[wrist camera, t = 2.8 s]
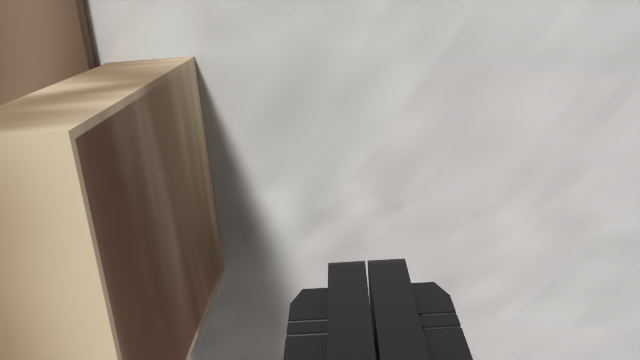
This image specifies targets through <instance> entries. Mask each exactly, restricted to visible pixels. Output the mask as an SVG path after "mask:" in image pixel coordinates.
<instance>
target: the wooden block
mask: <svg viewBox="0 0 640 360" xmlns="http://www.w3.org/2000/svg"><path fill="white" fill-rule="evenodd" d="M223 271H224V263H223V256H222V249H221V241H220V234H219V227H218V220H217V213H216V206H215V199H214V192H213V185H212V178H211V171H210V164H209V157H208V150H207V143H206V136H205V128H204V121H203V114H202V107H201V100H200V93H199V86H198V79H197V72H196V65H195V58H194V57H180V58H166V59H152V60H139V61H125V62H111V63H106V64H103V65H101V66H98V67H96V68H93V69H91V70H88V71H86V72H83V73H81V74H78V75H76V76H73V77H71V78H68V79H66V80H63V81H61V82H58V83H56V84H53V85H51V86H48V87H46V88H43V89H41V90H38V91H36V92H33V93H31V94H28V95H26V96H23V97H20V98H18V99H15V100H13V101H10V102H8V103H5V104H3V105H0V360H189V357H190V355H191V352H192V350H193V347H194V345H195V342H196V340H197V337H198V335H199V332H200V330H201V327H202V324H203V322H204V319H205V317H206V314H207V312H208V309H209V307H210V304H211V302H212V299H213V297H214V294H215V291H216V289H217V286H218V284H219V281H220V279H221V276H222V274H223Z"/></svg>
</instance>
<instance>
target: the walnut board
mask: <svg viewBox="0 0 640 360" xmlns="http://www.w3.org/2000/svg"><path fill="white" fill-rule="evenodd" d="M93 68H96V64H95V59H94V54H93V49H92V44H91V39H90V33H89V28H88V23H87V18H86V13H85V8H84V3H83V0H0V105H3V104H5V103H8V102H10V101H13V100H15V99H18V98H20V97H23V96H26V95H28V94H31V93H33V92H36V91H38V90H41V89H43V88H46V87H48V86H51V85H53V84H56V83H58V82H61V81H63V80H66V79H68V78H71V77H73V76H76V75H78V74H81V73H83V72H86V71H88V70H91V69H93Z"/></svg>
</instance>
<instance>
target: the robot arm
mask: <svg viewBox="0 0 640 360" xmlns="http://www.w3.org/2000/svg"><path fill="white" fill-rule="evenodd" d="M368 279H369V294H368V285H367V276H366V267H365V261H356V262H338V263H328V288H316V289H303V290H302V291H301V292H300V293H299V294H298V295H297V297H296V298H295V299H294V300H293V301H292V303H291V304H290V311H289V319H288V327H287V337H286V343H285V351H284V359H283V360H473V359H472V356H471V353H470V350H469V347H468V345H467V342H466V339H465V336H464V333H463V331H462V328H461V327H460V322H459V319H458V317H457V315H456V311H455V308H454V306H453V303H452V300H451V297H450V295H449V294H448V293H446V292H445V291H444V290H443V289H442V288H440V287H439V286H438V285H437V284H436V283H434V282H426V283H411V281H410V277H409V273H408V269H407V265H406V261H405V259H390V260H372V261H368ZM369 299H370V304H369Z"/></svg>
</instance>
